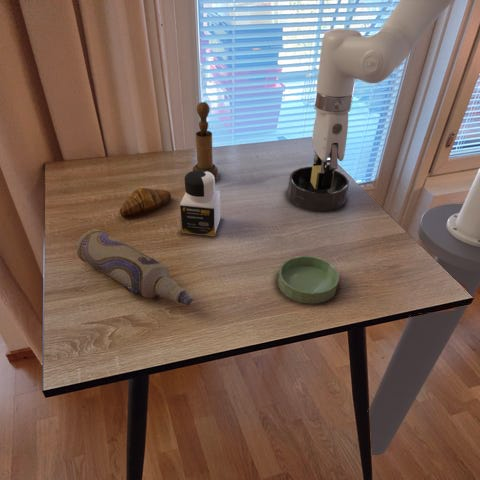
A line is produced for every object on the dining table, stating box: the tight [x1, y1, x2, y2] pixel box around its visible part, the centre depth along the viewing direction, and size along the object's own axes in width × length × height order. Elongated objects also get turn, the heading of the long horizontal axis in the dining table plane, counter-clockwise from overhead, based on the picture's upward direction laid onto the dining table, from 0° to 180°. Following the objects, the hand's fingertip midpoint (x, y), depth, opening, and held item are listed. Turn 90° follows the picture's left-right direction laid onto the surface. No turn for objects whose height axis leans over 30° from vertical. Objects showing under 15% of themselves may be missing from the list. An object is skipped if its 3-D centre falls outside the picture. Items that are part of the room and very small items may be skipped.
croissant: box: [119, 187, 172, 218], centre depth 95 cm, size 14×7×5 cm, turn 134°
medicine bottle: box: [179, 170, 221, 237], centre depth 87 cm, size 7×7×12 cm
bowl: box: [287, 166, 350, 213], centre depth 101 cm, size 14×14×4 cm
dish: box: [277, 255, 340, 305], centre depth 78 cm, size 11×11×2 cm
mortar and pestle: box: [192, 101, 219, 182], centre depth 102 cm, size 7×6×18 cm
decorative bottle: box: [75, 228, 194, 306], centre depth 75 cm, size 26×8×7 cm, turn 52°
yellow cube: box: [310, 164, 334, 189], centre depth 98 cm, size 4×4×4 cm
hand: (320, 183), depth 99 cm, fingers closed on yellow cube, 4 cm apart
